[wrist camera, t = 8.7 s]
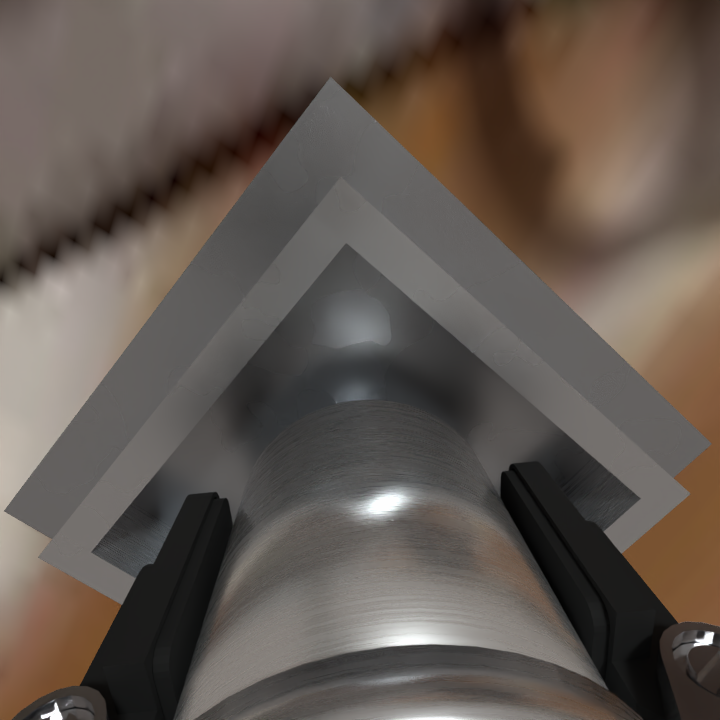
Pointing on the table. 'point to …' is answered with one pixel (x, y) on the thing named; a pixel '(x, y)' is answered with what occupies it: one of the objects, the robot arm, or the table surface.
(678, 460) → the duct collar
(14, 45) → the table surface
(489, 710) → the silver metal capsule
